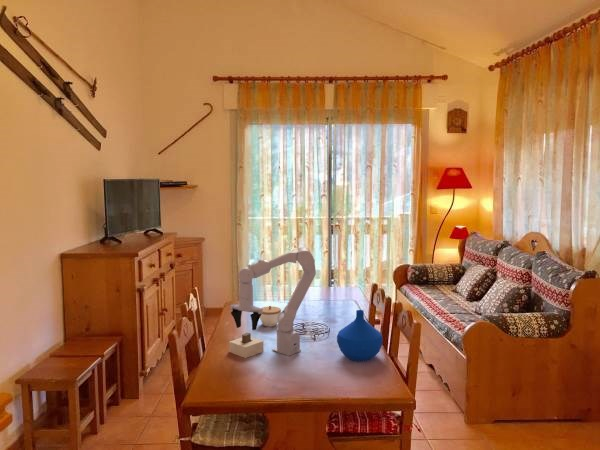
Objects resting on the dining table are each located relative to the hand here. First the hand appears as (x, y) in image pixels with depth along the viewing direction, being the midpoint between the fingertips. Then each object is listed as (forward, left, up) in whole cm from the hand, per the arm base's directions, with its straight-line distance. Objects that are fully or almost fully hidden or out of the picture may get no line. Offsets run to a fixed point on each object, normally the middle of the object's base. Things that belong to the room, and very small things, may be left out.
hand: (246, 328), depth 197 cm
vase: (-38, -27, -10) cm, 48 cm away
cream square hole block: (0, 0, -10) cm, 10 cm away
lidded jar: (+19, -32, -10) cm, 38 cm away
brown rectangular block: (0, 0, -9) cm, 9 cm away
